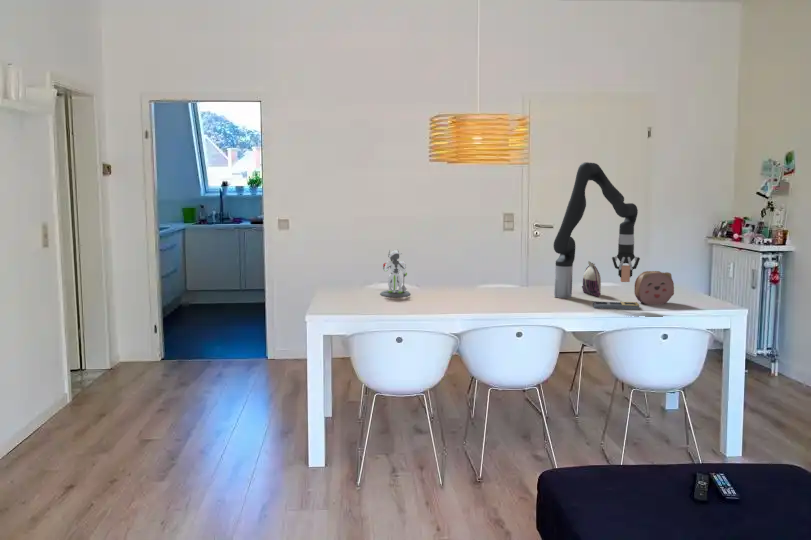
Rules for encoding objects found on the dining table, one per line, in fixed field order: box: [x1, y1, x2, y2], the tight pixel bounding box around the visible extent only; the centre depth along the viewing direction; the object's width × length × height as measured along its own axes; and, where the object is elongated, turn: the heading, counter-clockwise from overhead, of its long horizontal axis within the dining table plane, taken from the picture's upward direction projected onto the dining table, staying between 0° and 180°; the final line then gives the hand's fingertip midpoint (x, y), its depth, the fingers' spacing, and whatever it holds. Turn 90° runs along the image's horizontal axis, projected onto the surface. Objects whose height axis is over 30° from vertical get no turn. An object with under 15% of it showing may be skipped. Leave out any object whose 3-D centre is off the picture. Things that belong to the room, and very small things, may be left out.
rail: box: [592, 300, 640, 310], centre depth 371 cm, size 22×8×2 cm, turn 81°
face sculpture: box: [634, 270, 675, 305], centre depth 383 cm, size 20×7×17 cm, turn 101°
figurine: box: [379, 249, 411, 298], centre depth 404 cm, size 17×17×25 cm
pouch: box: [581, 260, 602, 298], centre depth 407 cm, size 25×8×19 cm, turn 15°
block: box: [620, 264, 631, 283], centre depth 368 cm, size 4×4×8 cm
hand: (625, 276), depth 368 cm, fingers closed on block, 4 cm apart
